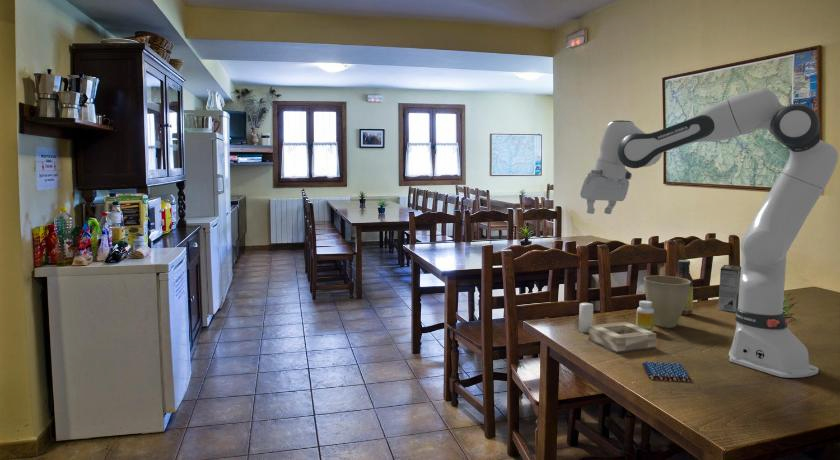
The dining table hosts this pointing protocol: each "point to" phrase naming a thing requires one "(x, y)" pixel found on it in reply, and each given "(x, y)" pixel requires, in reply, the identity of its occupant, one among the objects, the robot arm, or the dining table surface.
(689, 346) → the dining table surface
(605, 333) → the socket block
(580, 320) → the cylinder
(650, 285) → the plant pot
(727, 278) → the coffee box
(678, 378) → the woven mat
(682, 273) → the sauce bottle
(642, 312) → the supplement bottle
